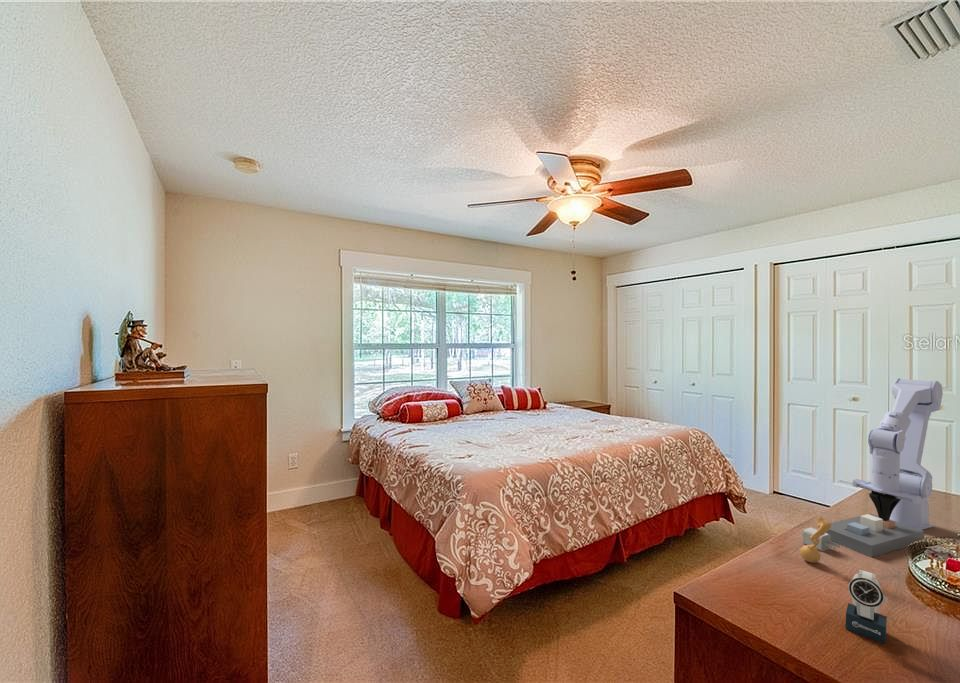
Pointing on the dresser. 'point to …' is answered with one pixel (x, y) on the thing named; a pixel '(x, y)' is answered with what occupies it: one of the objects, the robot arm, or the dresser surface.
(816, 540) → the figurine
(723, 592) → the dresser surface
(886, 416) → the robot arm
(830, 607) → the dresser surface
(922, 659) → the dresser surface
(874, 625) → the watch
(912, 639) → the dresser surface
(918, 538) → the key panel
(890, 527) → the terracotta key
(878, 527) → the white key
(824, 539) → the usb wall charger
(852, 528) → the blue key
